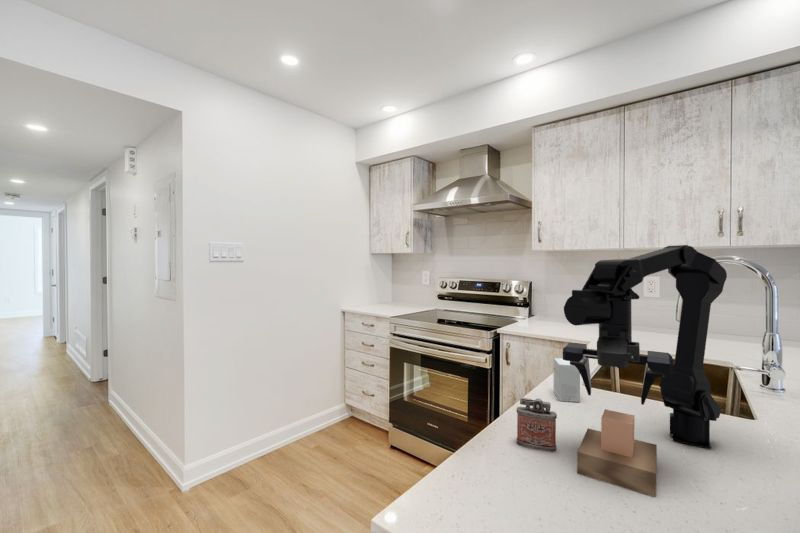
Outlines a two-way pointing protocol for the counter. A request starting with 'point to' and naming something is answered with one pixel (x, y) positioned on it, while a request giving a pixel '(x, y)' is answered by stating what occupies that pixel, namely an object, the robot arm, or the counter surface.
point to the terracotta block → (617, 433)
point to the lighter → (536, 425)
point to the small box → (566, 381)
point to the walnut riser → (619, 464)
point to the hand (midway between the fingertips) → (615, 399)
